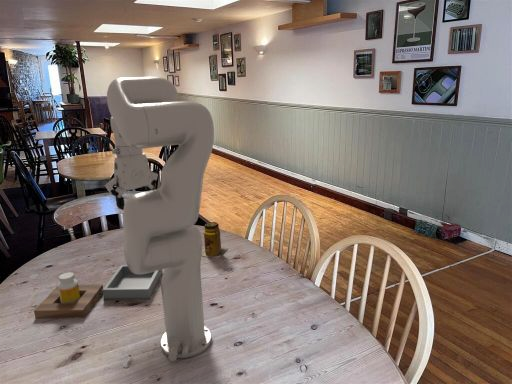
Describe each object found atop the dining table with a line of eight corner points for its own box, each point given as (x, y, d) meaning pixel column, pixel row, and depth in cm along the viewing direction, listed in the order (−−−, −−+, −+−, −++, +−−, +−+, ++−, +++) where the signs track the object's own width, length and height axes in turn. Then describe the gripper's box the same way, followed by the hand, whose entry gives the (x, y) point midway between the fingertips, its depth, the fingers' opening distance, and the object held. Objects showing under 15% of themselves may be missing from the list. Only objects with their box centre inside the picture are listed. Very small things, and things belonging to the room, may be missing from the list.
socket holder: (84, 317, 110) (83, 309, 109) (35, 318, 110) (33, 310, 110) (103, 291, 123) (102, 284, 123) (60, 292, 124) (58, 285, 123)
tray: (149, 299, 118) (148, 289, 117) (103, 299, 119) (102, 289, 118) (162, 273, 134) (161, 264, 133) (122, 274, 134) (120, 265, 133)
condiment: (201, 256, 146) (198, 226, 142) (211, 247, 154) (209, 218, 150) (218, 258, 143) (216, 228, 140) (228, 249, 151) (226, 220, 148)
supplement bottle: (58, 304, 117) (53, 275, 114) (76, 297, 120) (71, 269, 118) (66, 311, 113) (60, 281, 110) (84, 303, 117) (79, 274, 114)
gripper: (108, 156, 108) (116, 215, 113) (161, 147, 120) (166, 200, 125) (95, 153, 113) (103, 209, 118) (147, 145, 125) (153, 196, 130)
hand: (135, 204), depth 122 cm, fingers open, 9 cm apart
